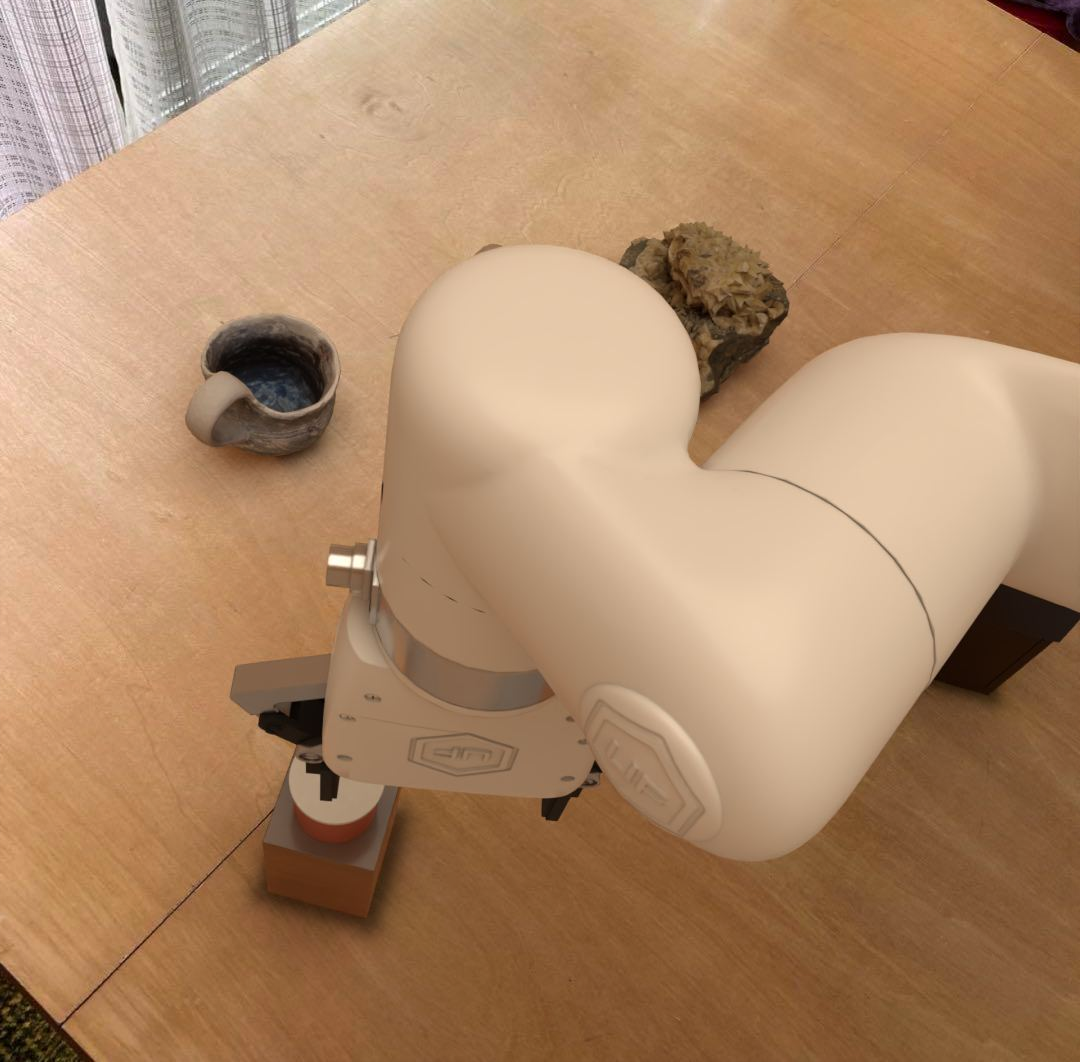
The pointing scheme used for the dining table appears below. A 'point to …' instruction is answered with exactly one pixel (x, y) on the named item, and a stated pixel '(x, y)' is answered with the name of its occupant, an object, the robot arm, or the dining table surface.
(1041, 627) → the lid
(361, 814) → the disc
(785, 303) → the mineral specimen
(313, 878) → the stand
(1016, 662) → the box
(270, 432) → the mug
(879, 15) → the dining table surface
